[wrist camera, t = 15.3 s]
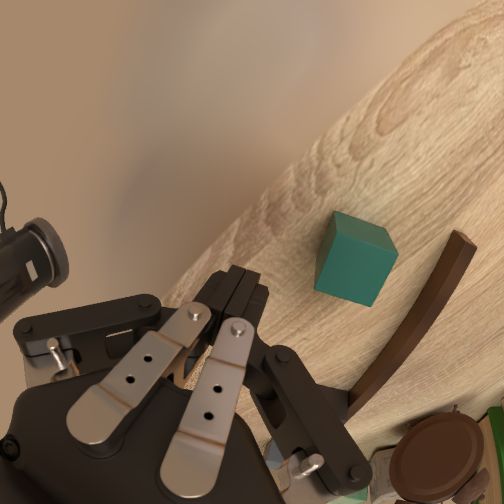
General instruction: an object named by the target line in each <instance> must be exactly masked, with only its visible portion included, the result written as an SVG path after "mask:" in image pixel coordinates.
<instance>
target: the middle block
mask: <svg viewBox="0 0 504 504" xmlns="http://www.w3.org/2000/svg"><path fill="white" fill-rule="evenodd" d="M317 386H318V387H319V389H320V390H321V392H322V393H323V395H324V397H325V398H326V400H327V401H328V403H329V404H330V406H331V407H332V409H333V410H334V412H335V413H336V415H337V416H338V418H339V419H340V421H341V422H342V424H343V425H344V424H345V423H346V422H347V420H348V392H347V391H343V390H338V389H334V388H329V387H325V386H321V385H317Z"/></svg>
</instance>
